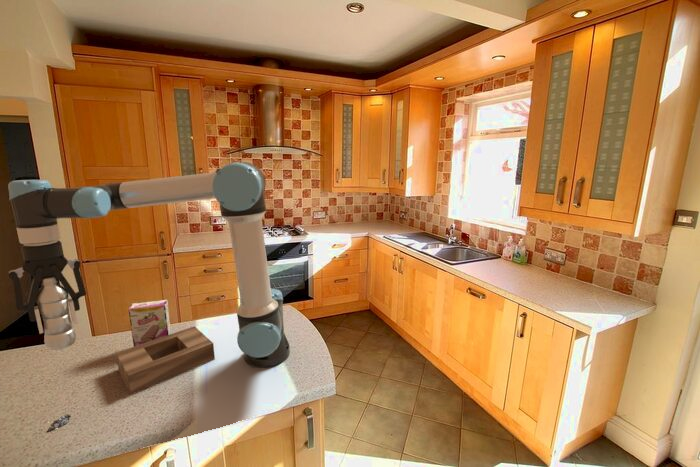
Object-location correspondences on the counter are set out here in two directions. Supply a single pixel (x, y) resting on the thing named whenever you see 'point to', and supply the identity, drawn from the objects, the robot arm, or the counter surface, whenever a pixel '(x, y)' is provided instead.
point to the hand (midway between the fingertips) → (58, 326)
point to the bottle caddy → (163, 358)
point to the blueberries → (59, 423)
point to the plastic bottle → (55, 314)
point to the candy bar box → (149, 321)
